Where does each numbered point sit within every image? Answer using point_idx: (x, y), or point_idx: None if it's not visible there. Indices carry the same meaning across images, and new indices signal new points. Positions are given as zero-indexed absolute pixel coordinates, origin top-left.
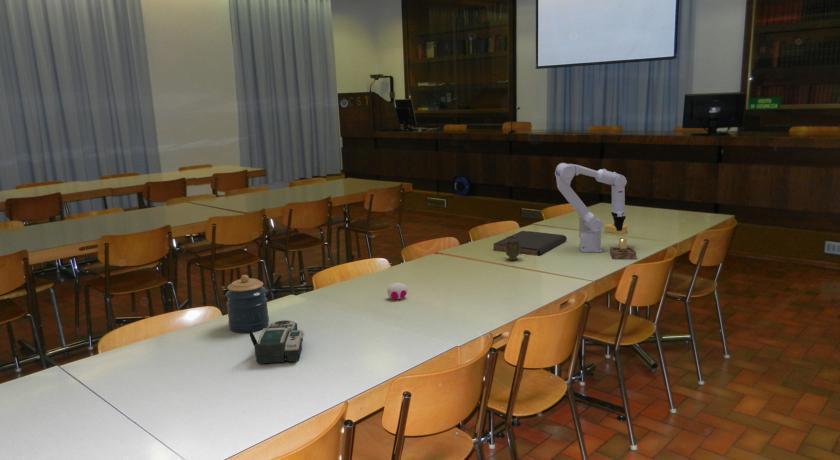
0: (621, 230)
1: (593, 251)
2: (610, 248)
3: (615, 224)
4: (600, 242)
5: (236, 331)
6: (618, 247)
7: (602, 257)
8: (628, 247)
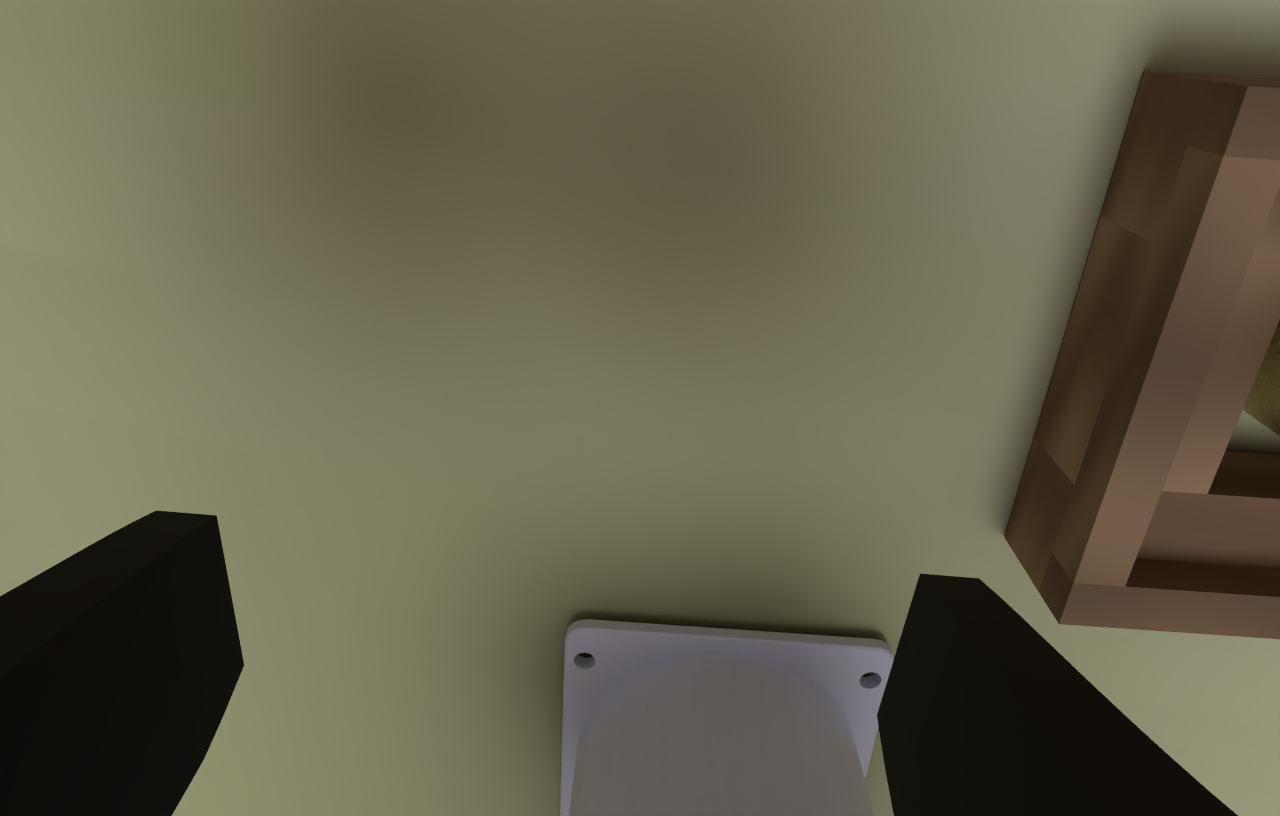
0: (991, 596)
1: (867, 759)
2: (1194, 632)
3: (174, 772)
4: (795, 777)
5: None
6: (1151, 462)
7: (1252, 682)
8: (1228, 219)
